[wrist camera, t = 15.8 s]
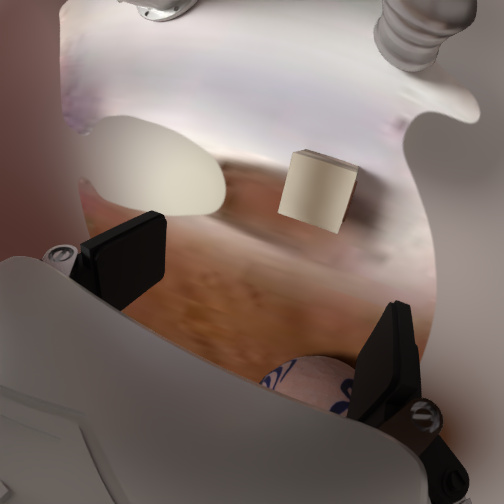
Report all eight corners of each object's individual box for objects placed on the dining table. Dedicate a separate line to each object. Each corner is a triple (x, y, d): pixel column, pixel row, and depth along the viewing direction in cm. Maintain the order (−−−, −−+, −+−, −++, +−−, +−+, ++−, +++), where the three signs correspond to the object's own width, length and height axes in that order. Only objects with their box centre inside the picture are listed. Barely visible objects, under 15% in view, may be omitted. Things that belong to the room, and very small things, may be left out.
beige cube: (293, 199, 32) (277, 212, 27) (306, 149, 29) (292, 152, 24) (344, 217, 30) (340, 234, 25) (360, 166, 28) (360, 173, 22)
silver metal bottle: (396, 13, 18) (411, -104, 1) (443, 56, 18) (523, -24, 2) (360, 43, 22) (341, -72, 5) (407, 87, 22) (470, 17, 5)
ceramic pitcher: (388, 397, 38) (363, 538, 17) (283, 414, 49) (231, 521, 27) (352, 320, 35) (303, 505, 14) (234, 353, 46) (151, 471, 25)
